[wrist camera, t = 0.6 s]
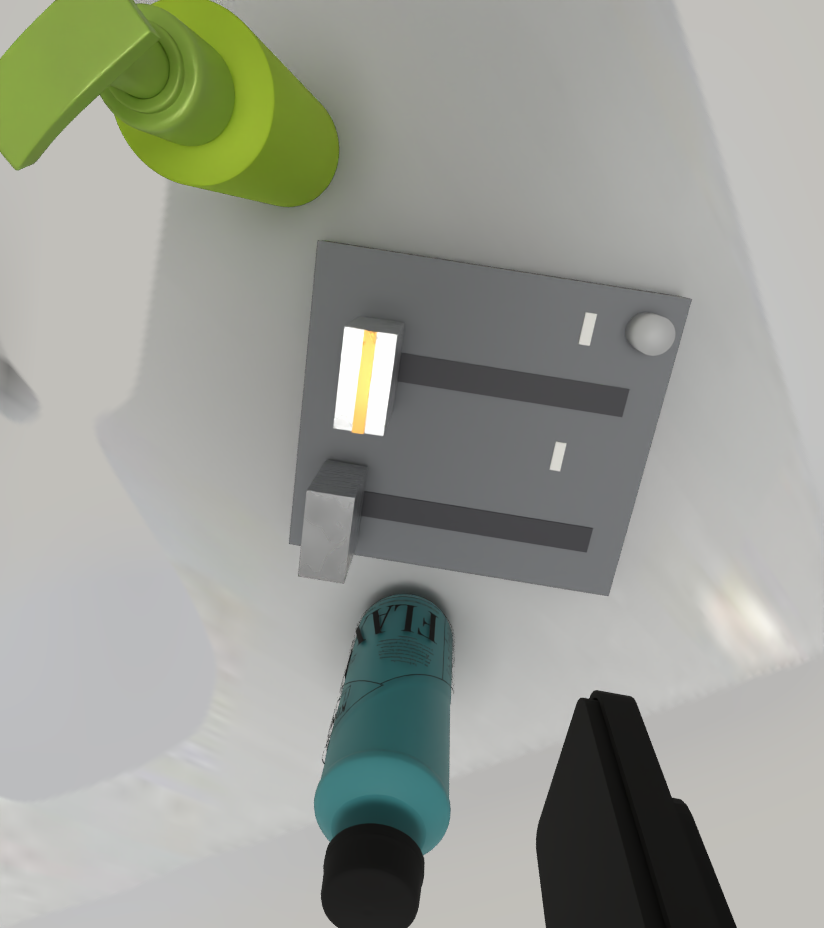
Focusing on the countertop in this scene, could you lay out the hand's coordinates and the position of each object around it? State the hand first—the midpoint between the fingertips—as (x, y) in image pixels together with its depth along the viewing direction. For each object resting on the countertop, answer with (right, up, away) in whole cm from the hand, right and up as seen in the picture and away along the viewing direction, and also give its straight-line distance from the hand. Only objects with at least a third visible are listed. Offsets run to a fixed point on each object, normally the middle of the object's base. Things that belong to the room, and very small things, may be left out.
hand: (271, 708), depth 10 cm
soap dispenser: (-5, +21, +25) cm, 33 cm away
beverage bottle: (+2, -7, +34) cm, 35 cm away
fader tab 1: (-2, +1, +29) cm, 29 cm away
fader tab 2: (0, +9, +26) cm, 28 cm away
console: (+6, +6, +29) cm, 30 cm away
